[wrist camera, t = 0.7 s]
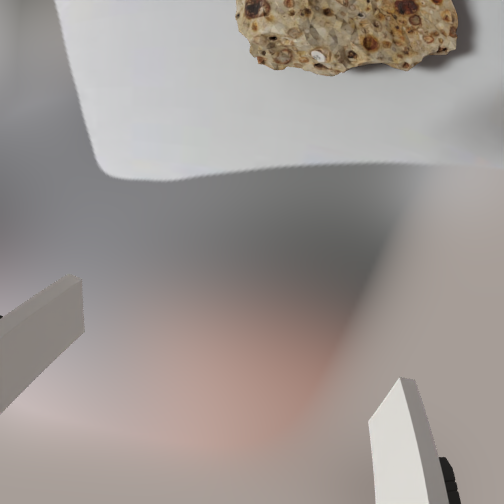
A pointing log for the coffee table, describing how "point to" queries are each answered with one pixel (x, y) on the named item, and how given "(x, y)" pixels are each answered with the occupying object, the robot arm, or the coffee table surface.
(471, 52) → the coffee table surface
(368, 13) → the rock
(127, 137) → the coffee table surface
